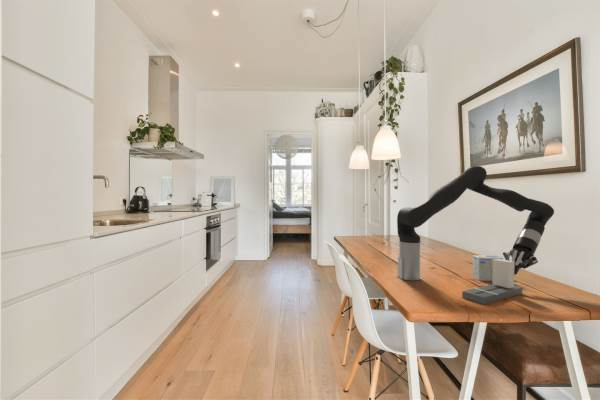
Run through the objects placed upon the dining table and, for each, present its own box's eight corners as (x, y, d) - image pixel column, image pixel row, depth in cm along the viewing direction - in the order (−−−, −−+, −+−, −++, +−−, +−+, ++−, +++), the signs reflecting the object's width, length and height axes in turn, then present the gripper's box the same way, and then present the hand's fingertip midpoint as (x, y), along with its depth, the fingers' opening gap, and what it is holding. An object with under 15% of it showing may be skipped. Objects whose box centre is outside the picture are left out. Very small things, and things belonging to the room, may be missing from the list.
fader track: (485, 305, 105) (485, 297, 105) (460, 297, 113) (460, 290, 113) (524, 294, 117) (524, 287, 117) (499, 287, 125) (499, 281, 125)
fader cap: (508, 288, 115) (508, 262, 114) (492, 284, 120) (492, 259, 120) (514, 286, 116) (514, 261, 116) (497, 282, 122) (498, 258, 122)
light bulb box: (495, 277, 141) (495, 255, 141) (503, 281, 135) (503, 258, 135) (471, 277, 142) (471, 254, 142) (478, 281, 136) (478, 257, 136)
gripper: (549, 250, 122) (533, 283, 116) (513, 245, 134) (497, 275, 128) (542, 238, 120) (526, 271, 114) (507, 234, 131) (490, 264, 125)
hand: (511, 273), depth 121 cm, fingers closed
